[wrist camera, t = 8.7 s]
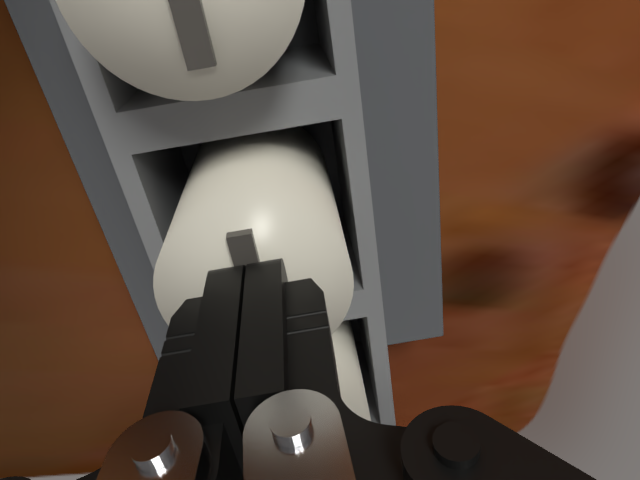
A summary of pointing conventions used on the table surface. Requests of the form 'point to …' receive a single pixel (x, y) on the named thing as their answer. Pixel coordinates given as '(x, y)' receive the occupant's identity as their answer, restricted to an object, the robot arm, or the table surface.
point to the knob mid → (256, 219)
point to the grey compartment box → (268, 115)
